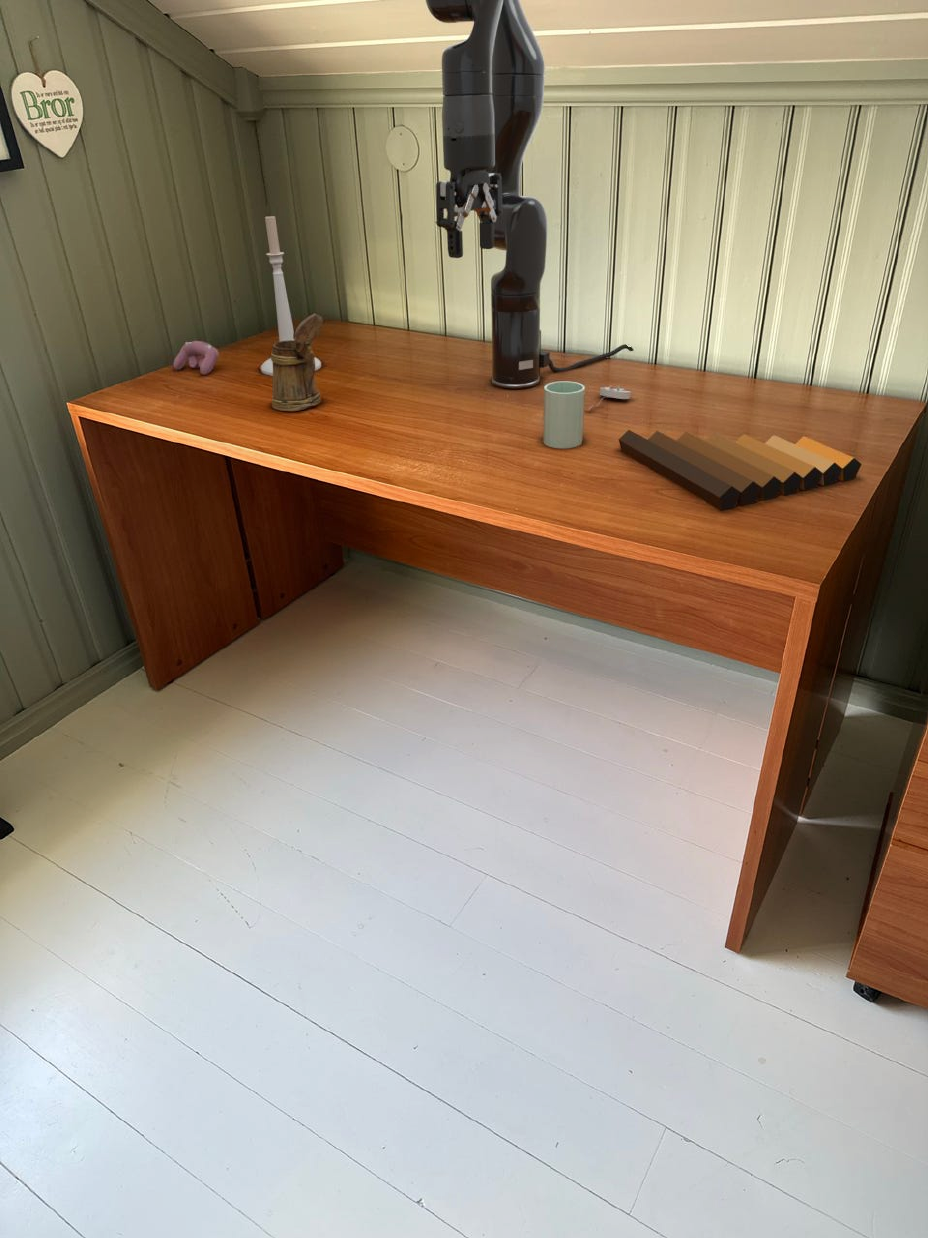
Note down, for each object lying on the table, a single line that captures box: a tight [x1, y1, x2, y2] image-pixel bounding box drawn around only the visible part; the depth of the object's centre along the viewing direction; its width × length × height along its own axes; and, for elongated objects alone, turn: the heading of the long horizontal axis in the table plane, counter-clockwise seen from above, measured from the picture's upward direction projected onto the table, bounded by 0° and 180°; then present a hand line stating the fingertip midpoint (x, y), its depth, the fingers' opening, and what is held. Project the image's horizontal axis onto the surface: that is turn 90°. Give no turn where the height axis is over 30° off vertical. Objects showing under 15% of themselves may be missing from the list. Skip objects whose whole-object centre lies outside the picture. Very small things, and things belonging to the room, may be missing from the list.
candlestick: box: [260, 214, 322, 377], centre depth 173 cm, size 13×13×30 cm
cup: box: [542, 380, 586, 449], centre depth 136 cm, size 6×6×9 cm
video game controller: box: [172, 340, 220, 376], centre depth 180 cm, size 10×5×7 cm, turn 58°
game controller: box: [587, 385, 632, 413], centre depth 153 cm, size 6×12×3 cm, turn 158°
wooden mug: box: [270, 311, 324, 412], centre depth 153 cm, size 9×14×18 cm, turn 47°
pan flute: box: [618, 429, 862, 512], centre depth 127 cm, size 25×3×25 cm
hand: (471, 252), depth 130 cm, fingers open, 8 cm apart
